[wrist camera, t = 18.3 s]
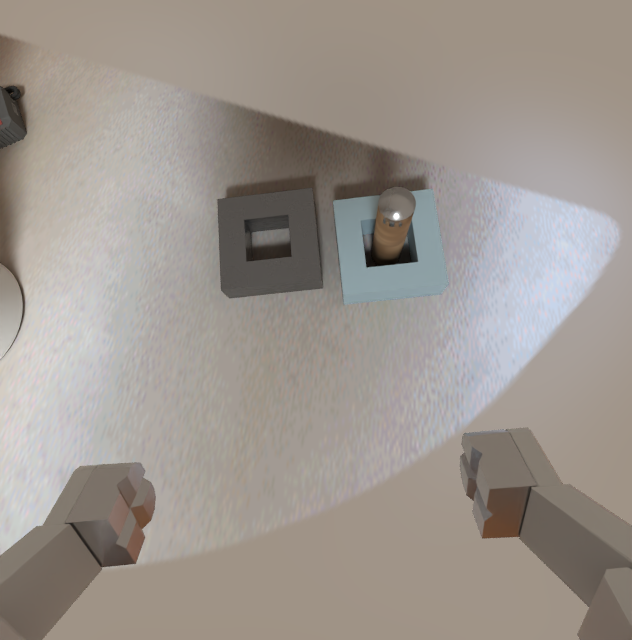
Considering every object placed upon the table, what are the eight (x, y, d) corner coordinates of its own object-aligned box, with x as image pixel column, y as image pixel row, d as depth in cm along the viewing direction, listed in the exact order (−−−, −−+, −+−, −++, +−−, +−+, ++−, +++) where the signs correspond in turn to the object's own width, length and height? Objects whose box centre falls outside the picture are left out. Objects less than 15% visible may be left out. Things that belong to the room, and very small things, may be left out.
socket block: (229, 298, 45) (221, 290, 42) (225, 212, 47) (217, 199, 44) (322, 288, 45) (320, 279, 42) (314, 202, 47) (312, 187, 44)
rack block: (343, 304, 44) (343, 295, 41) (334, 216, 46) (333, 200, 43) (440, 294, 43) (448, 283, 40) (426, 205, 46) (432, 188, 42)
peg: (373, 269, 45) (380, 222, 34) (369, 242, 45) (376, 188, 35) (401, 266, 44) (418, 218, 34) (398, 239, 45) (413, 184, 34)
